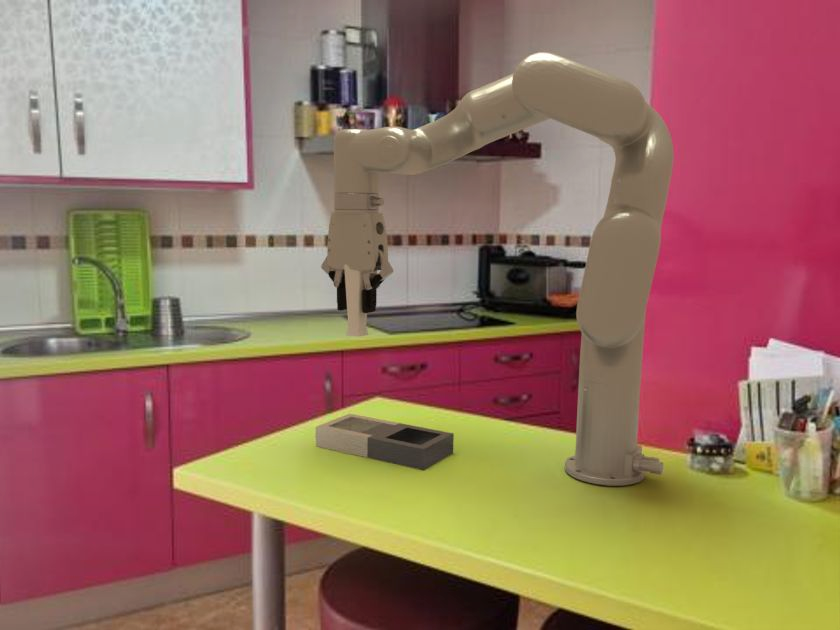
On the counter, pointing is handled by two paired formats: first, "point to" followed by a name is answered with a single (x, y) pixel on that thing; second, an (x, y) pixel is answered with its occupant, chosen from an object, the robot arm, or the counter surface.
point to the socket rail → (385, 440)
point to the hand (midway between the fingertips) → (356, 309)
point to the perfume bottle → (355, 302)
